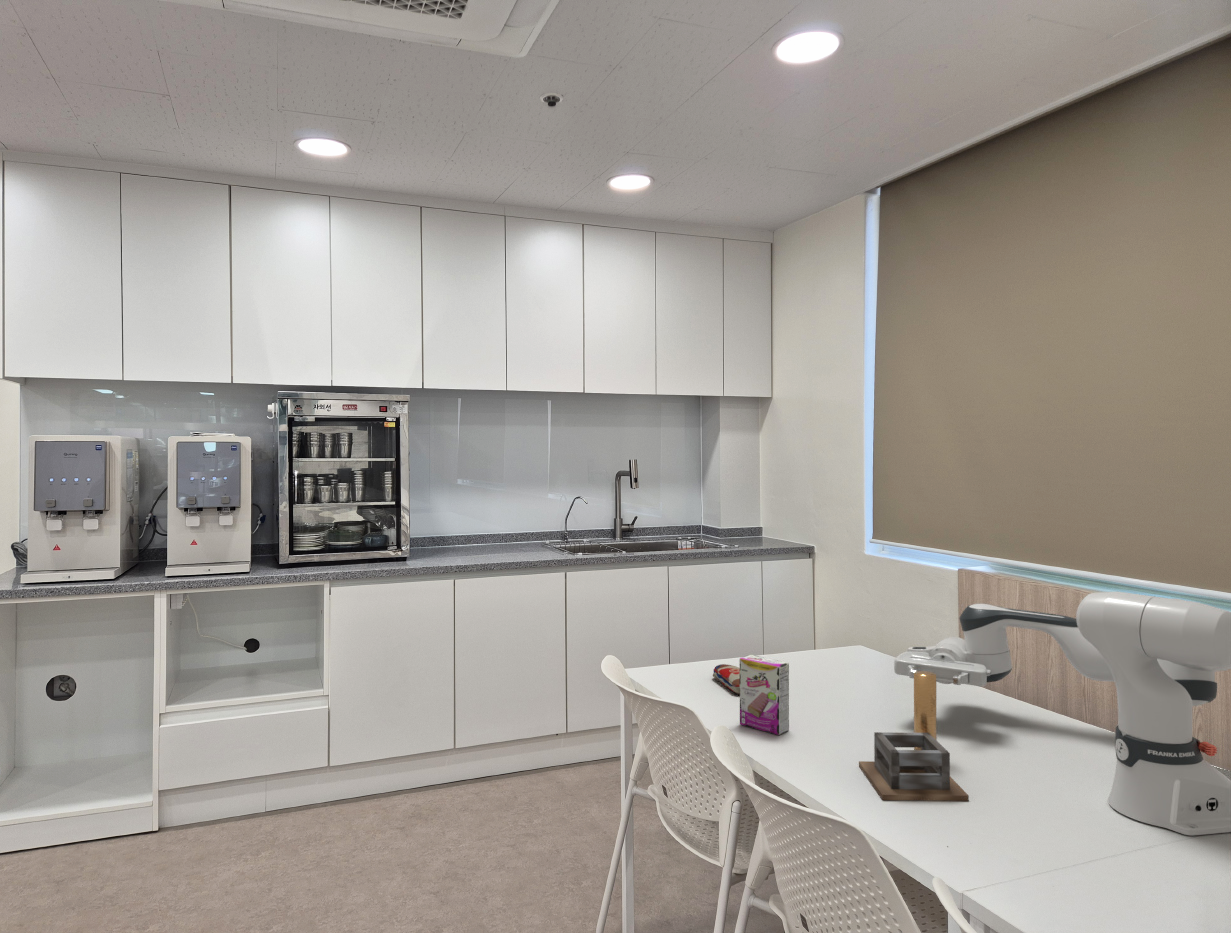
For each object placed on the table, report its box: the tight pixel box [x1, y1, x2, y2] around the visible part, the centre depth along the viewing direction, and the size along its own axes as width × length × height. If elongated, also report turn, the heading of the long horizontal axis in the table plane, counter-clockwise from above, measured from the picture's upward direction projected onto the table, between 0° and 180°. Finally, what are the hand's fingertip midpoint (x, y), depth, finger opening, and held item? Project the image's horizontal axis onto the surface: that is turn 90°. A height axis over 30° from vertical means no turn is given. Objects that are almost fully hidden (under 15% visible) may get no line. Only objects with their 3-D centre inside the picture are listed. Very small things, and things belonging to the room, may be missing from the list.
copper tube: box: [913, 671, 938, 750], centre depth 165 cm, size 4×4×18 cm
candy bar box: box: [739, 654, 790, 736], centre depth 184 cm, size 11×5×16 cm, turn 47°
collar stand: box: [858, 731, 970, 802], centre depth 153 cm, size 16×16×8 cm
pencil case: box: [712, 663, 740, 695], centre depth 218 cm, size 11×20×5 cm, turn 0°
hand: (934, 678), depth 176 cm, fingers open, 8 cm apart
